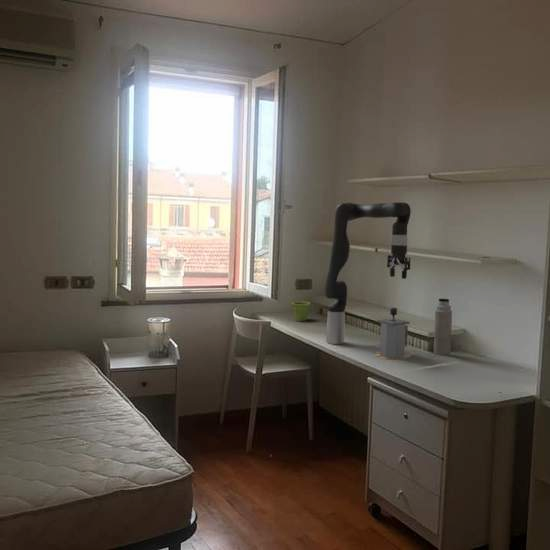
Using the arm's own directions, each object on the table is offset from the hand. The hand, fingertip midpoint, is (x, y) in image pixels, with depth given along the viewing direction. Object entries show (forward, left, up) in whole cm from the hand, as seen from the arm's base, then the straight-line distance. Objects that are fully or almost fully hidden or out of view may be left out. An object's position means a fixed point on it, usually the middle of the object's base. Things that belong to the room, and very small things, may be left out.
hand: (398, 277), depth 299 cm
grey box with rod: (+2, -2, -38) cm, 38 cm away
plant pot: (-103, +10, -39) cm, 111 cm away
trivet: (+2, -4, -39) cm, 39 cm away
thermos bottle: (+10, +21, -39) cm, 45 cm away
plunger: (+2, -4, -34) cm, 34 cm away
